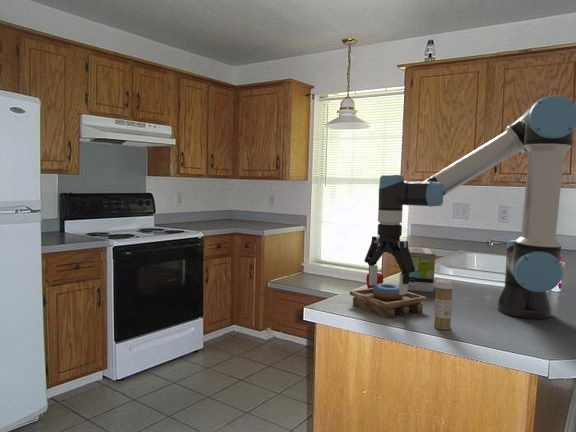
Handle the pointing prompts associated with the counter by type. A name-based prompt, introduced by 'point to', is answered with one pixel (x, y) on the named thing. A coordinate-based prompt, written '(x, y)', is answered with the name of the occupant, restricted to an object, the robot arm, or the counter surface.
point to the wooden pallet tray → (387, 303)
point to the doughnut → (387, 292)
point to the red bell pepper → (379, 280)
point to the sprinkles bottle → (443, 304)
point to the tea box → (422, 270)
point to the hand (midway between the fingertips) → (387, 289)
